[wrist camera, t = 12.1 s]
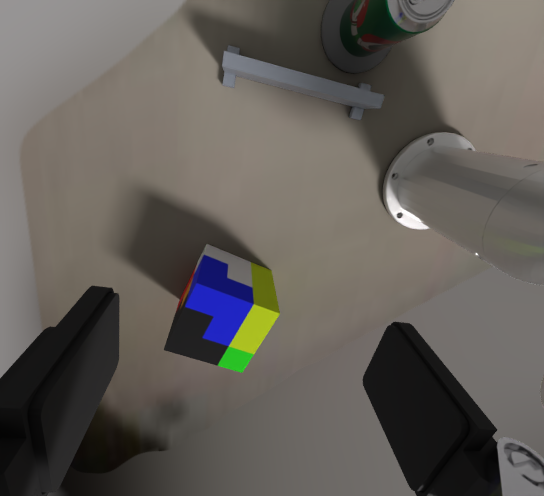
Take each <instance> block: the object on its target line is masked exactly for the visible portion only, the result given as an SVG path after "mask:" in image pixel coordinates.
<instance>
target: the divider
mask: <svg viewBox="0 0 544 496" xmlns="http://www.w3.org/2000/svg"><path fill="white" fill-rule="evenodd" d="M239 51H240V48H237V47H233V46H229V45H228V48H227V51H224V55H223V63H222V67H223V70H224V78H223V86H227V87H231V88H234V85H235V78H236V76H238V77H242V78H246V79H249V80H253V81H257V82H261V83H265V84H268V85H272V86H276V87H280V88H284V89H287V90H291V91H295V92H299V93H303V94H306V95H310V96H314V97H318V98H322V99H325V100H329V101H333V102H337V103H341V104H344V105H348V106H352V109H351V112H350V115H349V118H352V119H356V120H361V118H362V115H363V111H364V109H377V108H381V105H382V102H383V99H384V97H385V95H382V94H378V93H375V92H371V91H370V89H371V86H372V85H368V84H365V83H359V85H358V88H357V87H353V86H349V85H346V84H342V83H339V82H335V81H331V80H328V79H324V78H321V77H317V76H313V75H310V74H306V73H302V72H299V71H295V70H292V69H288V68H284V67H281V66H277V65H274V64H270V63H266V62H263V61H259V60H255V59H252V58H248V57H245V56H241V55H239Z"/></svg>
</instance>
